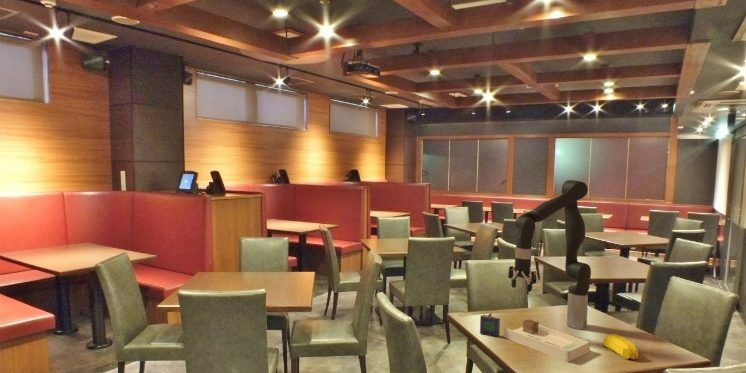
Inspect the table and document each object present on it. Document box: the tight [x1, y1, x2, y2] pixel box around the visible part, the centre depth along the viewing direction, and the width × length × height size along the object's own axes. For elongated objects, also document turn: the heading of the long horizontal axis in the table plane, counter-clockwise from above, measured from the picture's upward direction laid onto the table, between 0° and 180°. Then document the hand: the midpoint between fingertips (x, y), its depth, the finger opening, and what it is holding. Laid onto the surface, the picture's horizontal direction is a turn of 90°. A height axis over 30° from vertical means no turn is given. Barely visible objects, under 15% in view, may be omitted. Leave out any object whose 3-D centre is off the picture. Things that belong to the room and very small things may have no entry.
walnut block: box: [522, 318, 539, 334], centre depth 212 cm, size 5×5×5 cm
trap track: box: [503, 324, 591, 363], centre depth 202 cm, size 18×32×4 cm, turn 37°
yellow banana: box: [602, 333, 639, 360], centre depth 195 cm, size 18×7×8 cm
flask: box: [479, 312, 501, 338], centre depth 213 cm, size 9×3×11 cm, turn 68°
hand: (521, 289), depth 218 cm, fingers open, 8 cm apart
